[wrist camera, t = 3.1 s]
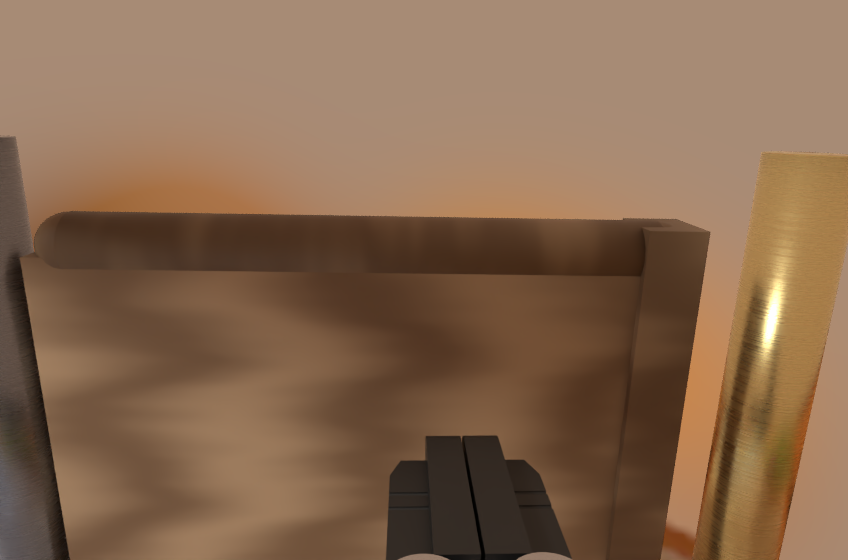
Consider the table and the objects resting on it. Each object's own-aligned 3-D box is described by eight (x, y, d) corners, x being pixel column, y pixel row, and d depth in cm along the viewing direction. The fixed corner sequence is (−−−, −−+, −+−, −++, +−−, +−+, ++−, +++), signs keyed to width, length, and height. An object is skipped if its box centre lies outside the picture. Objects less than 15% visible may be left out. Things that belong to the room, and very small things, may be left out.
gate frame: (-91, 828, 18) (-296, 138, 12) (32, 652, 23) (-70, 131, 18) (843, 811, 18) (1031, 165, 13) (739, 645, 24) (841, 150, 19)
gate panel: (93, 733, 19) (6, 217, 15) (122, 677, 21) (51, 205, 17) (634, 726, 20) (710, 228, 15) (614, 672, 22) (676, 215, 17)
